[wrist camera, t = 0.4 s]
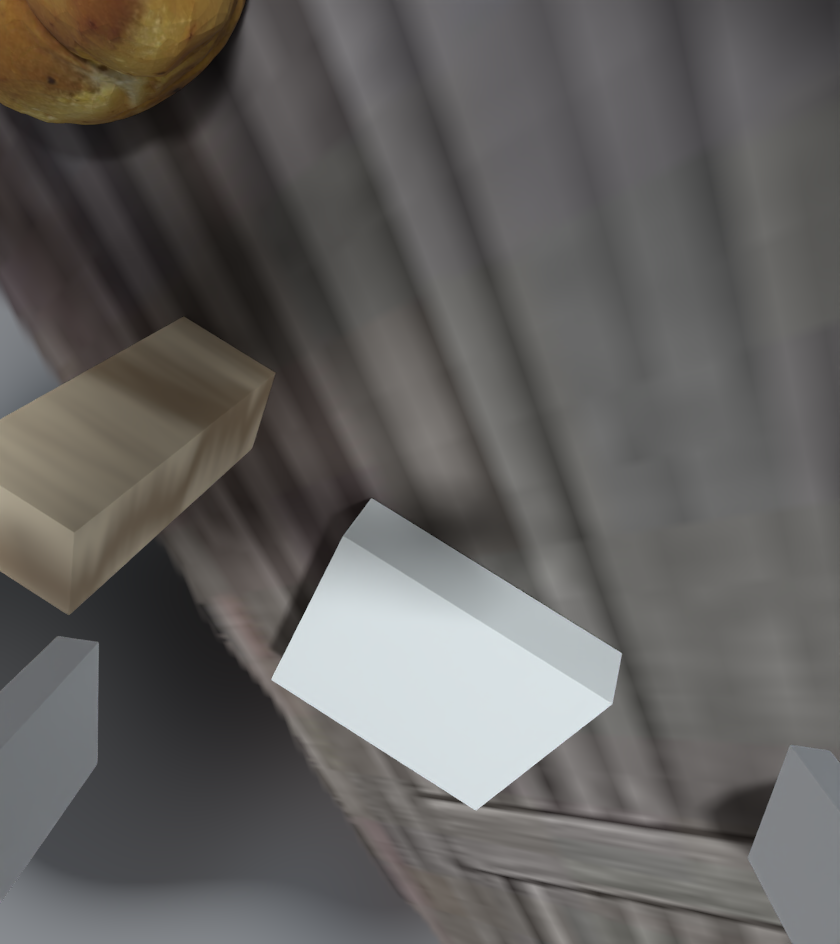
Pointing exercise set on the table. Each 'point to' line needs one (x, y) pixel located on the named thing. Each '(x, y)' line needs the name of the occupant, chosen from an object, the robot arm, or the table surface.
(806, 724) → the table surface
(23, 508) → the beech block
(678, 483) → the table surface
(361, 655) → the stone tile base
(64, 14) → the bread roll
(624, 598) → the table surface
